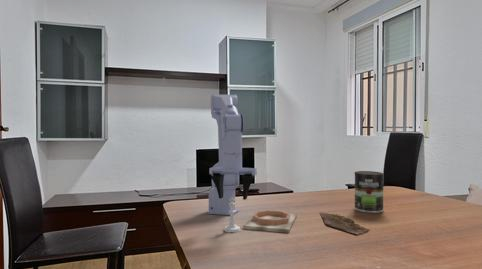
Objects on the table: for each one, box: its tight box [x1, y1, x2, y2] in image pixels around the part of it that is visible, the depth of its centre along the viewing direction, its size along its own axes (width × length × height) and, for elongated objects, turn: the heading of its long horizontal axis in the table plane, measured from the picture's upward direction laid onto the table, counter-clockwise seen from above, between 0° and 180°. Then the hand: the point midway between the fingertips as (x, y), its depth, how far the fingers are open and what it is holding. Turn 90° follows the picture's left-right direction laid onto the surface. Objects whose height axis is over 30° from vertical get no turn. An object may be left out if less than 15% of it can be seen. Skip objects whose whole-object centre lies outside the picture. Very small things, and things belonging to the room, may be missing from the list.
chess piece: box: [223, 197, 241, 233], centre depth 97 cm, size 5×5×10 cm
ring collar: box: [252, 209, 291, 225], centre depth 104 cm, size 12×12×2 cm
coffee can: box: [353, 170, 385, 214], centre depth 121 cm, size 10×10×14 cm
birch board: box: [243, 211, 298, 234], centre depth 104 cm, size 14×18×1 cm
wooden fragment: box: [319, 212, 370, 236], centre depth 104 cm, size 26×11×1 cm, turn 7°
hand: (232, 198), depth 97 cm, fingers open, 7 cm apart
